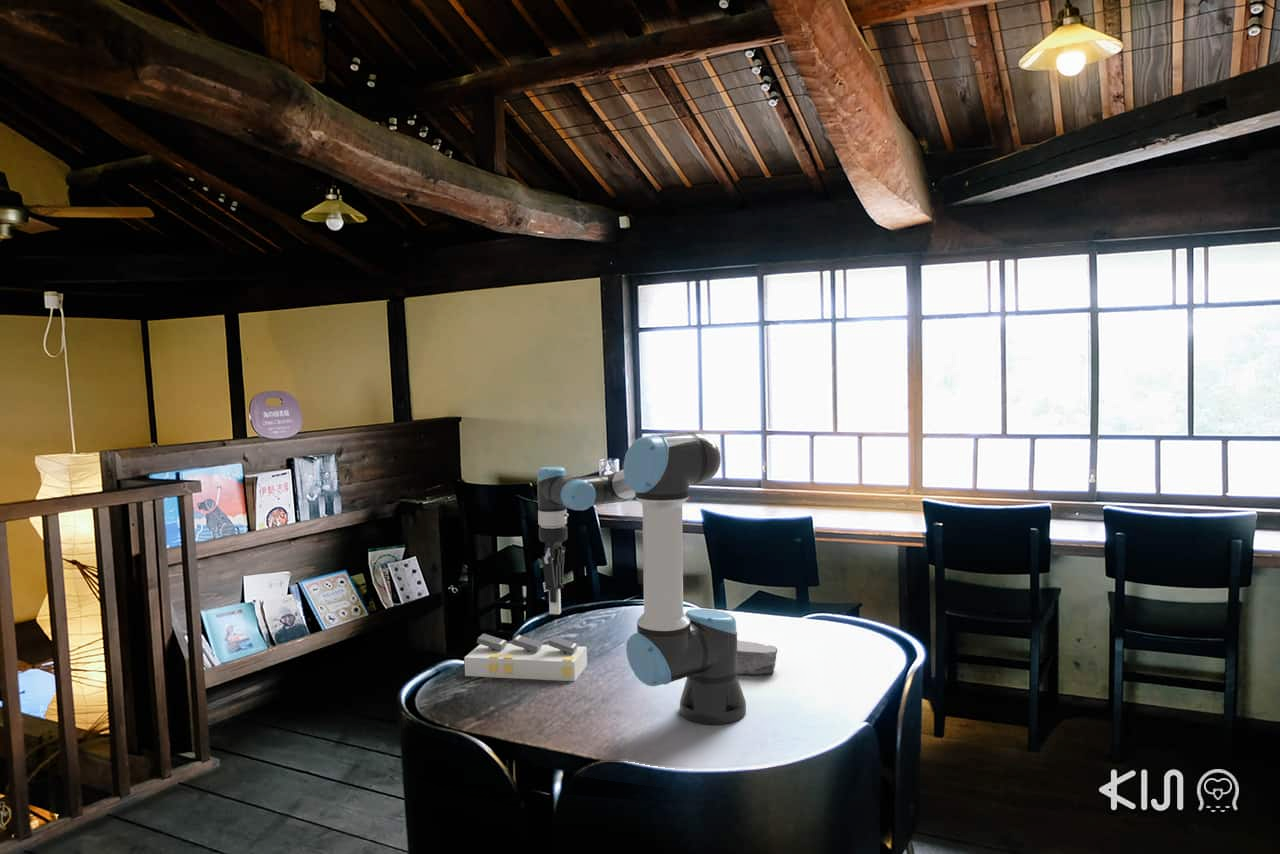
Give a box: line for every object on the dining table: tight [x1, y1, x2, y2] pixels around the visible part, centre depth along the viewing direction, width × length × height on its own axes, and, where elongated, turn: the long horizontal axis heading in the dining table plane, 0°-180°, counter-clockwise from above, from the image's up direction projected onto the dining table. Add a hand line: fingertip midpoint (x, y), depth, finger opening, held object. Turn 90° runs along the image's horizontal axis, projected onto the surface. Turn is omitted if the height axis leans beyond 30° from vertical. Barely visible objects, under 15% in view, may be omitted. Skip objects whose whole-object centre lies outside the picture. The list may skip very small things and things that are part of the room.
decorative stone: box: [737, 639, 778, 677], centre depth 212 cm, size 15×7×10 cm
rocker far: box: [476, 633, 508, 651], centre depth 219 cm, size 4×7×2 cm, turn 78°
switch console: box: [463, 643, 588, 682], centre depth 216 cm, size 12×30×6 cm, turn 78°
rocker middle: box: [511, 634, 543, 652], centre depth 217 cm, size 4×7×2 cm, turn 78°
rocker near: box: [547, 635, 579, 654], centre depth 215 cm, size 4×7×2 cm, turn 78°
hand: (555, 613), depth 216 cm, fingers closed
